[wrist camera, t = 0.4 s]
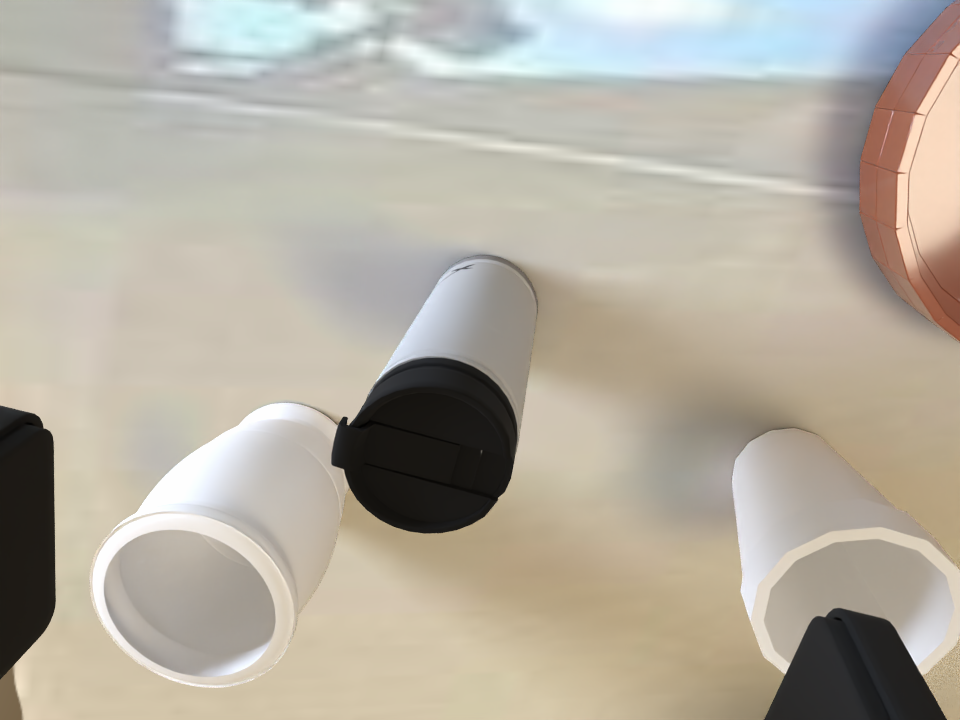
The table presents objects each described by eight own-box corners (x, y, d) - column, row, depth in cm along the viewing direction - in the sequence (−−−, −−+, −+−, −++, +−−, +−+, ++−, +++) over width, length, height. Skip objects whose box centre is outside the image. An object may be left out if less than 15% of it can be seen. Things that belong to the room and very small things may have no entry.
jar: (278, 353, 48) (159, 471, 34) (403, 457, 50) (337, 608, 36) (189, 459, 52) (48, 604, 38) (308, 552, 53) (215, 723, 40)
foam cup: (768, 377, 45) (839, 492, 33) (899, 450, 46) (1015, 588, 34) (677, 496, 49) (711, 638, 37) (800, 562, 49) (873, 723, 37)
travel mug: (441, 239, 44) (346, 365, 26) (550, 271, 44) (534, 419, 26) (417, 337, 47) (315, 516, 28) (521, 367, 47) (487, 566, 28)
